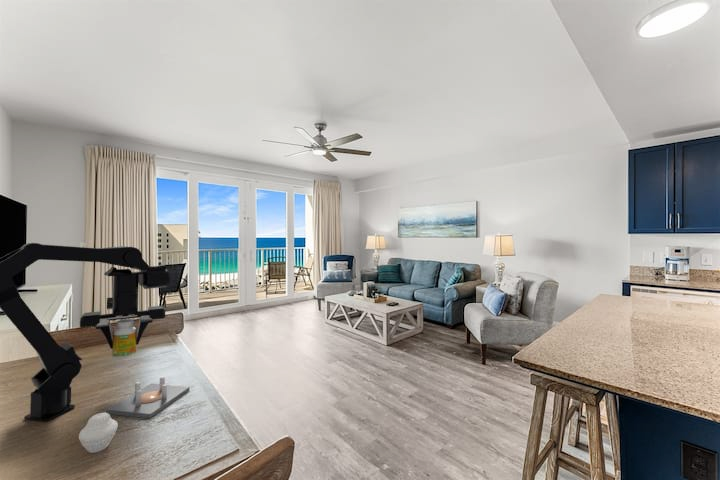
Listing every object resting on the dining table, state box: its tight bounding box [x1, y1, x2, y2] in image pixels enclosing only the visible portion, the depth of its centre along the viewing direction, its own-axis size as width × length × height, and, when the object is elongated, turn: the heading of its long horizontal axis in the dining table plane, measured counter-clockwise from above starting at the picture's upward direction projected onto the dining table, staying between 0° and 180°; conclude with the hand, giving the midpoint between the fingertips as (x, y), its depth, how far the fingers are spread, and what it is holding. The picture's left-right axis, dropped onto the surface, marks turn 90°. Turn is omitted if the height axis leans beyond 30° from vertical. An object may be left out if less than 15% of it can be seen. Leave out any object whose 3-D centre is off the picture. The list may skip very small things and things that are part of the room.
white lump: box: [78, 412, 119, 454], centre depth 64 cm, size 6×6×7 cm
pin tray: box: [105, 376, 190, 419], centre depth 82 cm, size 14×12×4 cm
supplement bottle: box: [111, 318, 138, 359], centre depth 88 cm, size 5×5×10 cm
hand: (124, 346), depth 88 cm, fingers closed on supplement bottle, 5 cm apart
